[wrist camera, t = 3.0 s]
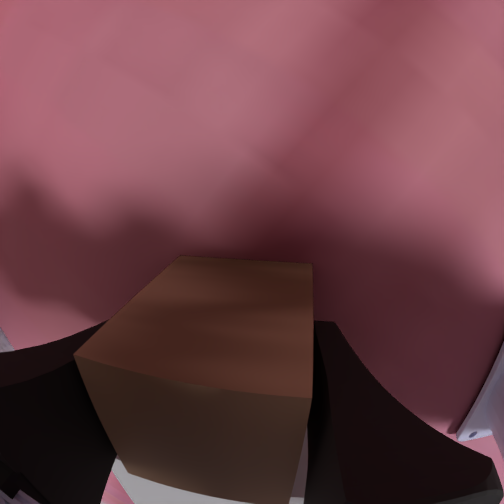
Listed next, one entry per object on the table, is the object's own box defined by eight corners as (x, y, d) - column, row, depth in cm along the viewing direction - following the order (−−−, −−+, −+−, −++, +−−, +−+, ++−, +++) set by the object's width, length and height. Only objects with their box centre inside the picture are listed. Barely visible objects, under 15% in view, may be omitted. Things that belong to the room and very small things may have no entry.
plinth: (321, 425, 12) (318, 498, 8) (299, 501, 15) (293, 550, 11) (137, 397, 14) (101, 452, 10) (168, 480, 17) (149, 523, 13)
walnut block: (312, 263, 10) (312, 397, 4) (301, 370, 11) (287, 506, 6) (180, 255, 11) (72, 354, 5) (191, 358, 12) (127, 473, 7)
